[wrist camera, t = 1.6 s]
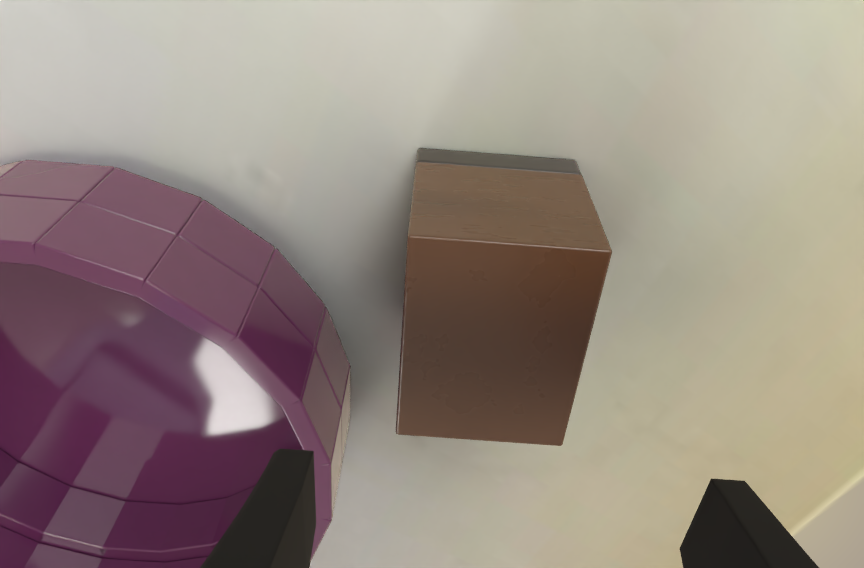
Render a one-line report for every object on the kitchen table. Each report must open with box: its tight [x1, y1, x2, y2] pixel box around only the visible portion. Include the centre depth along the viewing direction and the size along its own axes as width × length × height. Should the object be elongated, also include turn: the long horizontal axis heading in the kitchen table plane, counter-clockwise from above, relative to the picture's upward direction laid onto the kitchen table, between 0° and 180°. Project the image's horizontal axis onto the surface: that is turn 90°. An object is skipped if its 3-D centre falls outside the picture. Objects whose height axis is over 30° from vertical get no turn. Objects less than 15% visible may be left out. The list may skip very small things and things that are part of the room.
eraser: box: [396, 148, 612, 446], centre depth 18 cm, size 6×4×5 cm
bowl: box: [0, 160, 351, 568], centre depth 21 cm, size 15×15×5 cm
